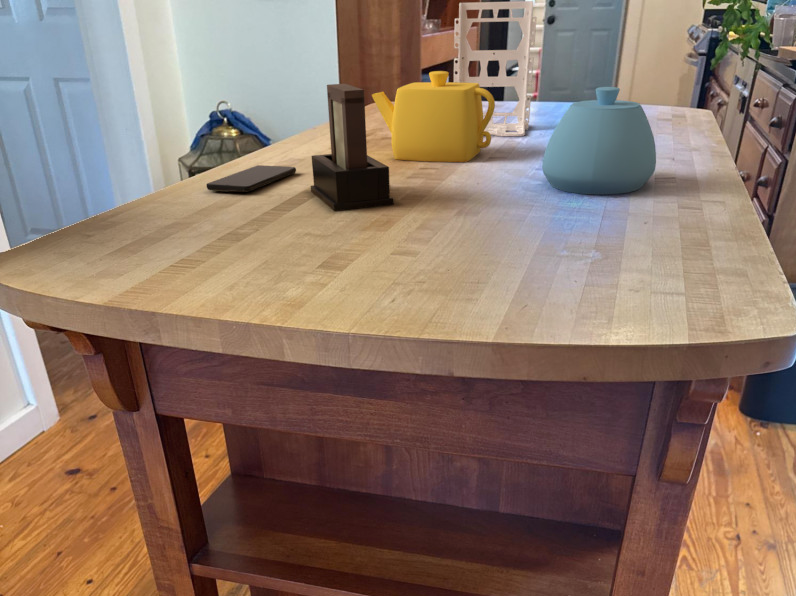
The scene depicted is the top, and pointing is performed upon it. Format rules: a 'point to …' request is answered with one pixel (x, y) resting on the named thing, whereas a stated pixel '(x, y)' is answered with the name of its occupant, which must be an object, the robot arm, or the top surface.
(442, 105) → the teapot
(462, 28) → the white perforated rack
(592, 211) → the top surface
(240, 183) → the smartphone
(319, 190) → the holder
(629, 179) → the sugar bowl
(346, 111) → the frame
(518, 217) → the top surface
